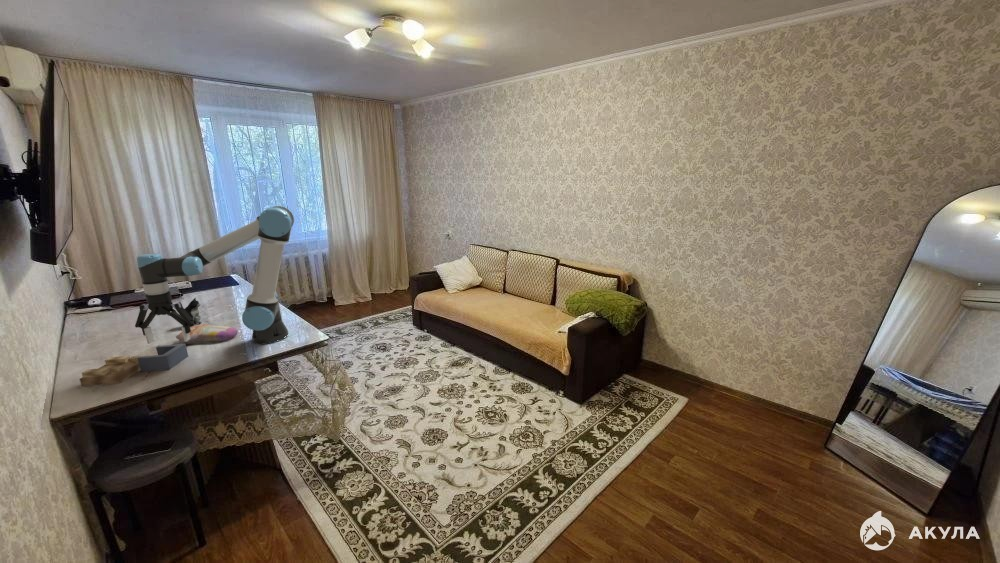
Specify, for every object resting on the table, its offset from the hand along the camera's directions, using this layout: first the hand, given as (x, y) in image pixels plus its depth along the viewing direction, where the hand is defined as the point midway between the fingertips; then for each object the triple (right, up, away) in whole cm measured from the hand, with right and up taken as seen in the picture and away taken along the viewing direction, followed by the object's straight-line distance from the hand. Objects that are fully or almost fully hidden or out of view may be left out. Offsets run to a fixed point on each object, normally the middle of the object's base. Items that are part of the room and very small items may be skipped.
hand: (169, 341), depth 157 cm
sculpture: (-5, -3, +28) cm, 29 cm away
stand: (-15, -12, -6) cm, 21 cm away
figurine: (-24, +1, +43) cm, 49 cm away
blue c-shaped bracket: (-3, -10, +2) cm, 11 cm away
